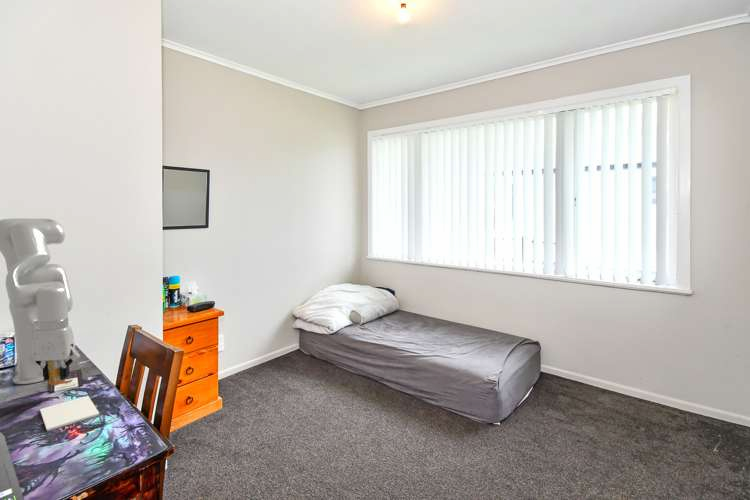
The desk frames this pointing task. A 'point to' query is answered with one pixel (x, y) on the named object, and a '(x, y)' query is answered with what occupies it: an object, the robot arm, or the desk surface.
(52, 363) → the supplement box
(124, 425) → the desk surface
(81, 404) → the mat
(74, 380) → the chocolate bar
